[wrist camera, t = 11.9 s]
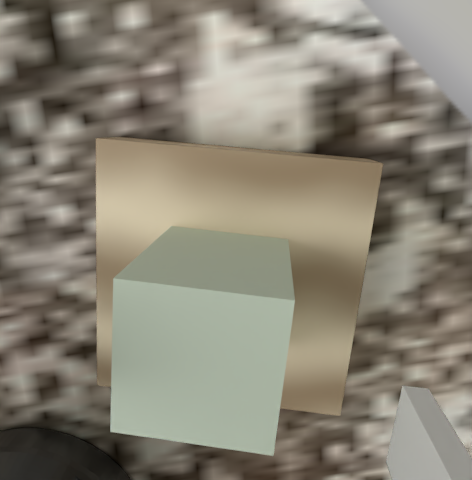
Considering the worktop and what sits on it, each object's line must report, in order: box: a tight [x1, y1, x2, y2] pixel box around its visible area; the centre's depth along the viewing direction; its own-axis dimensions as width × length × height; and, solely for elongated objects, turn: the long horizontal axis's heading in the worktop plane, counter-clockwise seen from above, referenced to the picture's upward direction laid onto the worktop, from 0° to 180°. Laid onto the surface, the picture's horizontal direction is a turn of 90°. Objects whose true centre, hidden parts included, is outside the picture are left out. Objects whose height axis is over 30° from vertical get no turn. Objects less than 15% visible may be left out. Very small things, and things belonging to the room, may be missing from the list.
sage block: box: [110, 226, 295, 456], centre depth 18 cm, size 6×6×8 cm
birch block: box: [96, 137, 383, 416], centre depth 24 cm, size 14×14×4 cm
